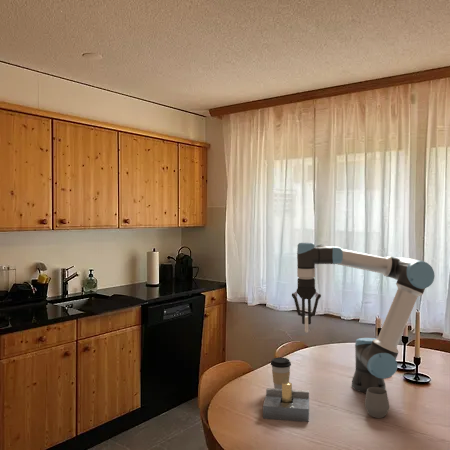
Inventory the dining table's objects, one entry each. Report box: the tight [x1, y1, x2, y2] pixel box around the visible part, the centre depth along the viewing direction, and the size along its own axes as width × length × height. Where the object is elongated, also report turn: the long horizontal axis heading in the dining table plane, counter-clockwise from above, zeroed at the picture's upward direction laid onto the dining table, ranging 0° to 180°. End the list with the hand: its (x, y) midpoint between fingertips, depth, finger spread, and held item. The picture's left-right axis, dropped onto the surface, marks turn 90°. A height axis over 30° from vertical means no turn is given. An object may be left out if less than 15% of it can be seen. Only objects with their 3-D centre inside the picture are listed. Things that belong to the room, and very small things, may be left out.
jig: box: [262, 387, 310, 423], centre depth 184 cm, size 18×14×7 cm
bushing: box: [282, 381, 293, 403], centre depth 184 cm, size 4×4×12 cm
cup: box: [364, 387, 390, 419], centre depth 181 cm, size 10×9×10 cm
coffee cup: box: [270, 357, 292, 389], centre depth 206 cm, size 9×9×15 cm
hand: (306, 331), depth 196 cm, fingers closed
